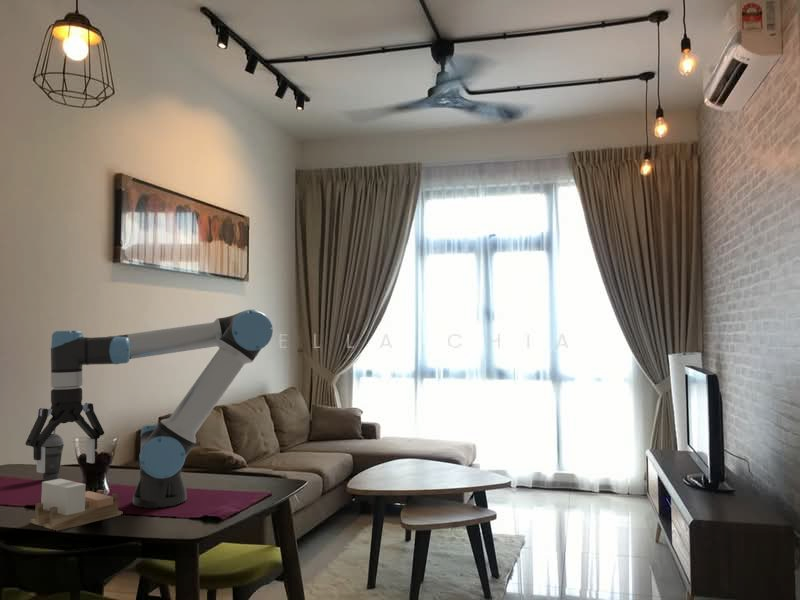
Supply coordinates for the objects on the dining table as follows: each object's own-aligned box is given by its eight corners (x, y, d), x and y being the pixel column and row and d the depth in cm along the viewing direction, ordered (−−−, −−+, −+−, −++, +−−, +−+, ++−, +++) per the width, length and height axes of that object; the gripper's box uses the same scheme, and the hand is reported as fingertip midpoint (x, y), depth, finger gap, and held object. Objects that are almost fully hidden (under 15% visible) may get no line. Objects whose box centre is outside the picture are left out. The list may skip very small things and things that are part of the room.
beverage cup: (48, 477, 225) (50, 419, 226) (67, 477, 224) (69, 419, 225) (33, 481, 218) (35, 422, 219) (53, 482, 217) (55, 422, 218)
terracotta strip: (113, 504, 178) (113, 496, 178) (98, 507, 174) (98, 500, 174) (88, 498, 184) (88, 490, 184) (73, 501, 180) (73, 494, 181)
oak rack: (122, 514, 179) (123, 495, 180) (57, 531, 164) (57, 509, 164) (95, 507, 187) (96, 488, 187) (30, 522, 171) (31, 502, 171)
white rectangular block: (84, 510, 171) (85, 484, 171) (66, 515, 167) (67, 487, 167) (59, 504, 177) (60, 478, 178) (41, 508, 173) (41, 482, 173)
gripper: (101, 383, 186) (101, 457, 185) (11, 391, 165) (10, 475, 164) (117, 384, 182) (117, 460, 181) (26, 392, 161) (25, 478, 160)
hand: (66, 467), depth 173 cm, fingers open, 13 cm apart
